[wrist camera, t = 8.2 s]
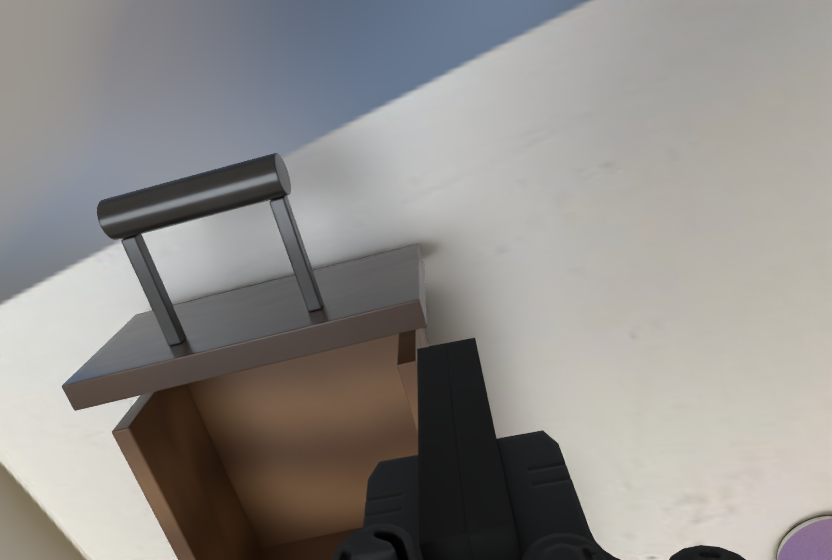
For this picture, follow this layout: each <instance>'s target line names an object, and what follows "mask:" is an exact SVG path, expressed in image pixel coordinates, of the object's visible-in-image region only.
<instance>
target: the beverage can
mask: <svg viewBox="0 0 832 560" xmlns="http://www.w3.org/2000/svg"><path fill="white" fill-rule="evenodd" d="M777 560H832V516H822V517H817V518H813V519H810V520H808V521H805V522H803V523H801V524H800V525H798V526H796V527H795V528H794V529H792V530H791V531H790V532H789V533H788V534H787V535H786V536H785V538H784V539H783V541H782V542H781V544H780V546H779V549H778V553H777Z"/></svg>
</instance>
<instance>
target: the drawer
mask: <svg viewBox="0 0 832 560" xmlns="http://www.w3.org/2000/svg"><path fill="white" fill-rule="evenodd" d="M290 192H291V184H290V178H289V174H288V171H287V168H286V166H285V163H284V161H283V159H282V158H281V156H280V155H279V154H278V153H274V154H270V155H266V156H263V157H259V158H256V159H252V160H248V161H244V162H241V163H237V164H233V165H229V166H226V167H222V168H219V169H215V170H211V171H207V172H204V173H200V174H196V175H192V176H189V177H185V178H181V179H178V180H174V181H170V182H167V183H163V184H159V185H155V186H152V187H148V188H144V189H141V190H137V191H133V192H130V193H126V194H122V195H119V196H115V197H111V198H107V199H104V200H102V201H100V202H99V204H98V207H97V216H98V220H99V223H100V225H101V227H102V229H103V231H104V232H105V234H106V235H107V236H108V237H110V238H111V239H113V240H120V239H123V240H122V244H123V246H124V248H125V251H126V253H127V255H128V257H129V259H130V262H131V264H132V266H133V268H134V270H135V272H136V275H137V277H138V279H139V281H140V283H141V286H142V288H143V290H144V292H145V294H146V297H147V299H148V301H149V303H150V305H151V308H152V310H153V311H149V312H145V313H141V314H137V315H135V316H134V317H133V318H132V319H131V320H130V321H129V322H128V323H127V324H126V325H125V326H124V327H123V328H122V329H121V330H120V331H119V332H117V333H116V334H115V335H114V336H113V337H112V338H111V339H110V340H109V341H108V342H107V343H106V344H105V345H104V346H103V347H102V348H101V349H100V350H99V351H98V352H97V353H96V354H95V355H93V356H92V357H91V358H90V359H89V360H88V361H87V362H86V363H85V364H84V365H83V366H82V367H81V368H80V369H79V370H78V371H77V372H76V373H75V374H74V375H73V376H72V377H71V378H69V379H68V380H67V381H66V382H65V383H64V384H63V385H62V388H63V390H64V392H65V394H66V396H67V398H68V399H69V401H70V403H71V405H72V407H73V409H74V410H75V411H76V410H80V409H84V408H88V407H93V406H97V405H101V404H105V403H109V402H114V401H118V400H122V399H126V398H130V397H135V396H139V395H140V397H139V398H138V399H137V401H136V402H135V403H134V404H133V406H132V407H131V408H130V409H129V411H128V412H127V413H126V414H125V416H124V417H123V418H122V420H121V421H120V422H119V423H118V425H117V426H116V427H115V428H114V430H113V431H112V434H113V436H114V438H115V439H116V441H117V443H118V445H119V447H120V449H121V451H122V453H123V455H124V457H125V459H126V461H127V462H128V464H129V466H130V468H131V470H132V472H133V474H134V476H135V478H136V480H137V482H138V484H139V485H140V487H141V489H142V491H143V493H144V495H145V497H146V499H147V501H148V503H149V505H150V507H151V508H152V510H153V512H154V514H155V516H156V518H157V520H158V522H159V524H160V526H161V528H162V530H163V531H164V533H165V535H166V537H167V539H168V541H169V543H170V545H171V547H172V549H173V551H174V553H175V554H176V556H177V558H178V560H331V559H332V556H333V554H334V551H335V549H336V548H337V547H338V546H339V544H340V543H341V542H342V541H343V540H344V539H345V538H346V537H347V536H349V535H350V534H352V533H353V532H355V531H357V530H358V529H360V528H363V521H364V517H365V514H364V512H365V503H366V493H367V484H368V479H369V477H370V475H371V474H372V472H373V471H374V469H375V467H376V466H377V464H378V463H379V462H380V461H385V460H391V459H396V458H402V457H408V456H413V455H418V384H417V349H419V348H424V347H429V343H428V340H427V336H426V333H425V329H424V328H425V327H427V314H426V291H425V268H424V262H423V259H422V255H421V251H420V248H419V245H418V244H416V245H412V246H408V247H404V248H400V249H396V250H392V251H388V252H384V253H380V254H376V255H372V256H368V257H364V258H360V259H356V260H352V261H348V262H344V263H340V264H336V265H332V266H328V267H324V268H320V269H316V270H312V267H311V264H310V261H309V259H308V256H307V253H306V250H305V247H304V244H303V241H302V238H301V235H300V232H299V229H298V227H297V224H296V221H295V218H294V215H293V212H292V209H291V206H290V203H289V200H288V197H287V195H289V194H290ZM268 200H271V201H270V206H271V208H272V211H273V214H274V217H275V220H276V222H277V225H278V228H279V231H280V234H281V237H282V239H283V242H284V245H285V248H286V251H287V253H288V256H289V259H290V262H291V265H292V267H293V270H294V273H295V275H292V276H288V277H284V278H280V279H276V280H272V281H268V282H264V283H260V284H256V285H252V286H248V287H244V288H240V289H236V290H232V291H228V292H224V293H220V294H216V295H212V296H208V297H205V298H201V299H197V300H193V301H189V302H185V303H181V304H177V305H172V303H171V300H170V298H169V296H168V294H167V291H166V289H165V287H164V285H163V282H162V280H161V278H160V276H159V273H158V271H157V269H156V266H155V264H154V262H153V260H152V257H151V255H150V253H149V251H148V248H147V246H146V244H145V241H144V239H143V237H142V235H141V234H143V233H146V232H150V231H154V230H158V229H162V228H165V227H169V226H173V225H177V224H181V223H184V222H188V221H192V220H196V219H200V218H203V217H207V216H211V215H215V214H219V213H222V212H226V211H230V210H234V209H238V208H241V207H245V206H249V205H253V204H257V203H260V202H264V201H268Z"/></svg>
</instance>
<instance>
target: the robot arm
mask: <svg viewBox="0 0 832 560" xmlns="http://www.w3.org/2000/svg"><path fill="white" fill-rule="evenodd" d="M417 384H418V455H413V456H408V457H402V458H396V459H391V460H385V461H380V462H379V463H378V464H377V466H376V467H375V469H374V471H373V472H372V474H371V475H370V477H369V479H368V484H367V493H366V503H365V512H364V514H365V517H364V521H363V528H360V529H358V530H357V531H355V532H353V533H352V534H350V535H349V536H347V537H346V538H345V539H344V540H343V541H342V542H341V543H340V544H339V546H338V547H337V548H336V549H335V551H334V554H333V556H332V559H331V560H620V559H618V558H615V557H613V556H612V555H610V554H609V553H607V552H606V551H604V550H603V549H602V548H601V547H600V546H599V545H598V544H597V543H596V541H595V540H594V538H593V536H592V534H591V532H590V529H589V526H588V524H587V521H586V518H585V516H584V513H583V510H582V507H581V505H580V502H579V499H578V496H577V494H576V491H575V488H574V485H573V483H572V480H571V478H570V475H569V472H568V469H567V466H566V465H565V461H564V458H563V455H562V453H561V450H560V447H559V444H558V443H557V442H556V441H554V440H553V439H552V438H551V437H550V436H549V435H547V434H546V433H545V432H544V431H538V432H532V433H526V434H521V435H515V436H510V437H504V438H499V439H496V435H495V430H494V425H493V421H492V416H491V411H490V407H489V402H488V397H487V392H486V388H485V383H484V378H483V374H482V369H481V364H480V359H479V355H478V350H477V345H476V340H475V338H471V339H466V340H461V341H456V342H450V343H445V344H440V345H435V346H430V347H424V348H419V349H417ZM669 560H746V559H744V558H743V557H741V556H740V555H739V554H736V553H734V552H731V551H728V550H726V549H723V548H720V547H713V546H703V545H699V546H694V547H689V548H684V549H682V550H681V551H679V552H677V553H676V554H674V555H673V556H671V557H670V559H669Z"/></svg>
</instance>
